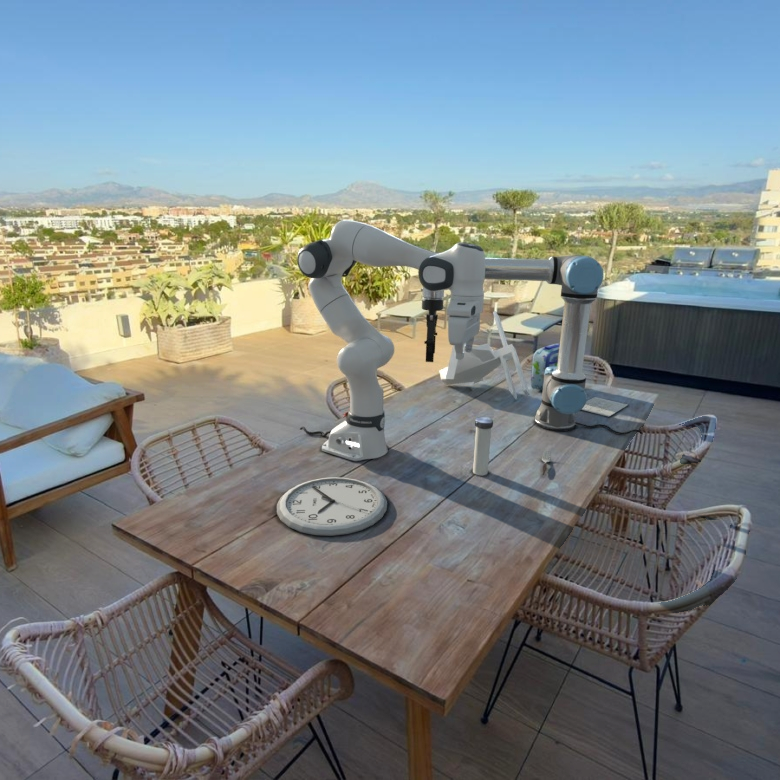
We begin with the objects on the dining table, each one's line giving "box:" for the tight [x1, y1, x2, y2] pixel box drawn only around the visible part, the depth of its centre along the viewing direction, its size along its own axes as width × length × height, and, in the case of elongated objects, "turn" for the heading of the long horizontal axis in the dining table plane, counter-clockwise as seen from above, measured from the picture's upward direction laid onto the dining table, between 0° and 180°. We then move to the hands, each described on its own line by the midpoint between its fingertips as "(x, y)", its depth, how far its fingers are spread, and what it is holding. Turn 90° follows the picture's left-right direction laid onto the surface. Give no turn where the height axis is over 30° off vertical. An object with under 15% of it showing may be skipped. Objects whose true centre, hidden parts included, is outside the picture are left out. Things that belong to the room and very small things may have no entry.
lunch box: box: [530, 343, 560, 391], centre depth 249 cm, size 26×11×21 cm, turn 134°
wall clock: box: [276, 476, 388, 537], centre depth 142 cm, size 30×2×30 cm
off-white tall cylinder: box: [472, 426, 492, 476], centre depth 161 cm, size 5×5×17 cm
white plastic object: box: [438, 310, 531, 400], centre depth 245 cm, size 37×45×31 cm
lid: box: [474, 416, 494, 429], centre depth 159 cm, size 5×5×2 cm
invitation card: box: [580, 396, 629, 418], centre depth 226 cm, size 21×1×15 cm
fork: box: [541, 451, 552, 476], centre depth 168 cm, size 3×16×2 cm, turn 160°
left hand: (464, 355), depth 145 cm, fingers open, 8 cm apart
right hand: (430, 357), depth 190 cm, fingers open, 13 cm apart
